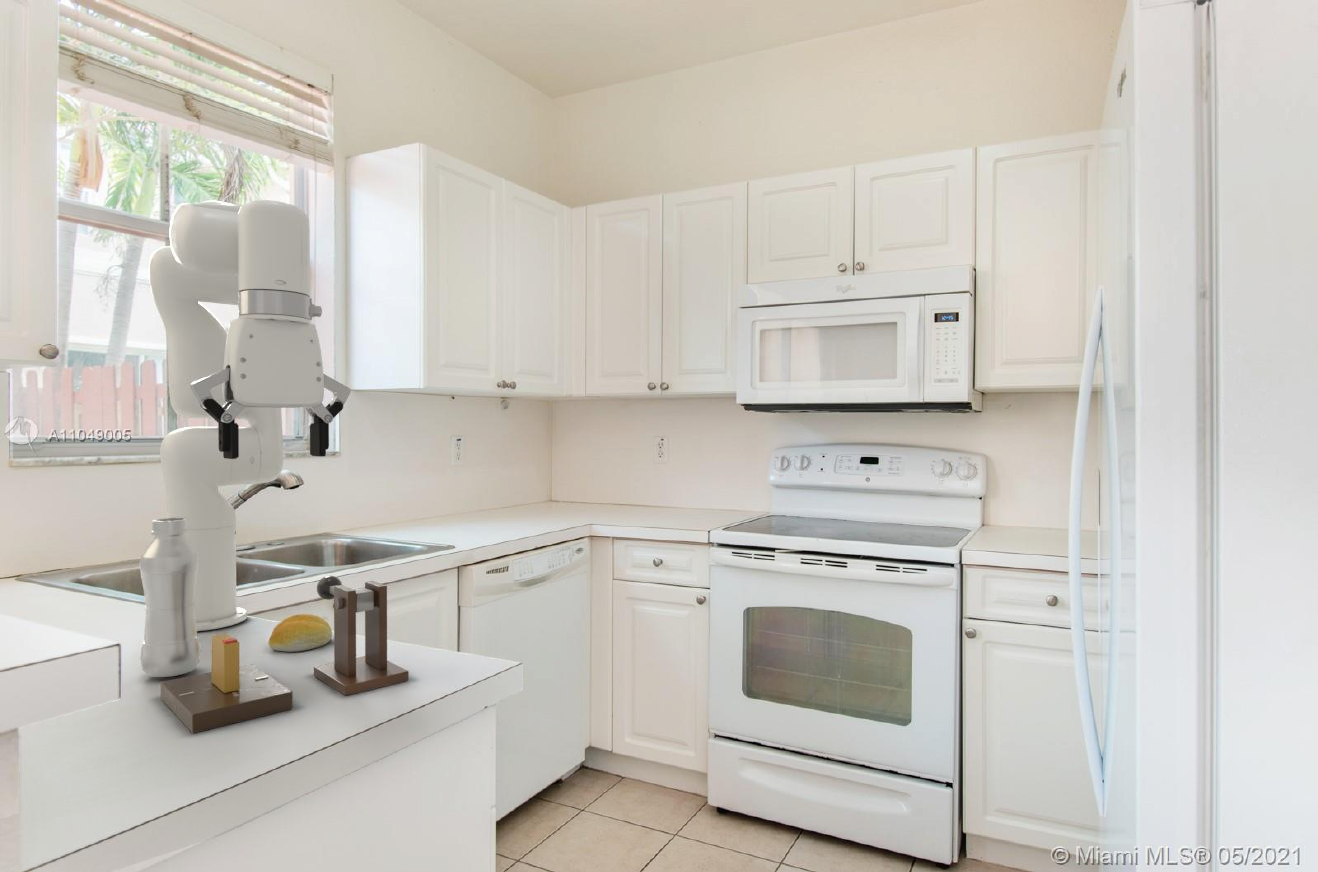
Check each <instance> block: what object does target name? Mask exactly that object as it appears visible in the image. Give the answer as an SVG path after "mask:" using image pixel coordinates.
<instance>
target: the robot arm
mask: <svg viewBox="0 0 1318 872" xmlns="http://www.w3.org/2000/svg"><path fill="white" fill-rule="evenodd" d="M310 237H311V236H310V220H309V216H308V214H307V213H306V212H305V210H303V209H302V208H301V207H299V206H297V205H295V204H292V203H288V202H284V201H280V200H279V201H278V200H268V199H258V200H251V201H247V202H245V203H243V204H238V203H234V202H233V203H232V202H226V201H220V200H204V201H199V202H196V203H189V202H188V203H187V202H186V203H185V202H183V203H180V204H179V205H178V206H177V207H176V208H175V210H174V212H173V214H172V217H171V220H170V225H169V242H170V245H169V246H168V245H166V246H161V247H160V248H158V249H155V250H154V251H153V252H152V254H151V255H150V257H149V258H150V259H149V262H148V279H149V280H148V281H149V285H150V286H149V287H150V291H151V295H152V299H153V301H154V304H155V306H156V308H157V311H158V313H159V316H160V318H161V321H162V323H163V327H164V329H165V333H166V341H167V371H168V372H167V374H168V375H167V377H168V392H169V401H170V405H171V408H172V410H173V412H174V413H175V414H176V415H178V416H180V417H183V418H188V419H200V420H214V422H215V423H217V424H218V426H188V427H183V428H182V427H181V428H179V429H178V428H177V429H174V430H173V431H171V432H169V433H168V434H167V435H165V436H164V437H163V439H162V441H161V443H160V447H159V457H160V459H159V460H160V464H161V470H162V476H163V481H164V486H165V497H166V515H167V516H166V518H186V529H187V533H185V534H184V535H185V538H186V539H187V541H188V542H189V543H190V544H191V545H192V546H193V548H194V549H195V550H196V552H197V555H198V557H199V565H198V572H197V579H196V586H195V599H194V602H195V607H194V610H195V619H196V628H197V632H202V631H203V632H204V631H210V630H217V629H221V628H226V627H230V626H231V627H232V626H234V625H237V624H240V623H242V622H244V621H245V620H247V618H248V610H247V609H245V608H244V607H239V606H237V515H236V511H235V508H234V506H233V505H232V504H231V502H230V501H229V500H228V499H227V498H226V497H225V496H224V495H223V494H221V493H220V491H219V489H218V488H219V487H224V486H235V485H237V486H238V485H254V484H255V485H256V484H257V485H258V484H267V483H271V482H274V481H275V480H277V479H278V478H279V477H280V475H281V474H282V471H283V468H284V467H283V466H284V439H283V438H284V436H283V419H282V416H283V415H282V409H283V408H284V409H296V408H297V409H299V408H303V409H304V410H305V411H306V413H307V414H308V415H309V416H310V418H311V419H312V420H313V422H312V423H310V424H309V455H310V456H312V457H326V456H327V450H329V447H330V424H331V423H332V422H333V421H334V419H335V417H337V415H339V413H341V412H342V410H343V409H344V405H345V404H346V402H347V401H348V399H349V396H350V395H351V391H352V390H351V388H350V387H348V386H347V385H344V384H343V383H341V382H339V381H338V380H335V379H334V378H332V377H330V376H328V375H327V374H325V373H324V365H323V356H322V350H321V344H320V339H319V334H318V331H317V327H316V326H317V325H316V324H312V323H311V321H312V320H313V318H320V317H321V316H322V313H323V309H322V306H320V305H316V304H313V298H311V269H310V268H311V261H310V260H311V259H310V258H311V257H310V256H311V253H310V252H311V251H310V247H311V246H310V245H311V244H310V241H311V240H310ZM202 303H211V304H221V305H230V306H231V305H232V306H238V318H235V319H231V320H230V321H229V325H228V328H227V330H226V329H225V327H224V326H223V324H222V323H221V321H220V320H219V319H218V317H216V316H215V314H213V312H212V311H211V310H210V309H208V308H207V307H206V306H205V305H204V304H202ZM325 389H326V390H328V391H330V392H331V393H332V394H333V396H332V399H331V401H330V402H329V403H328V404H326V406H325V405H324V404H323V401H324V397H325ZM235 420H244V421H246V422H247V423H248V425H249V426H239V424H238V423H237V422H235Z"/></svg>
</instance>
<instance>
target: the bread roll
mask: <svg viewBox="0 0 1318 872" xmlns="http://www.w3.org/2000/svg"><path fill="white" fill-rule="evenodd" d="M332 637H333V631H332V627H331V626H330V624H329V623H328V621H326V620H325V619H324V618H322V617H320V616H318V615H314V614H310V613H309V614H308V613H301V614H300V613H299V614H293V615H290V616H288V617H286V618H285V619H283V620H281V621H280V622H279V623H278V624H276V626H274V628H273V629H272V632H271V634H270V637H269V640H268V645H269V647H270V648H271V649H272V650H274V651H278V652H286V653H287V652H288V653H293V652H295V653H296V652H304V651H309V650H312V649H317V648H319V647H322V646H324V645H325V646H326V644H328V643H329V642H330V641H331V639H332Z"/></svg>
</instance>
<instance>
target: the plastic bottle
mask: <svg viewBox="0 0 1318 872" xmlns="http://www.w3.org/2000/svg"><path fill="white" fill-rule="evenodd" d="M185 533H187V529H186V518H167V517H166V518H164V517H163V518H157V519H153V520H152V530H151V536H153V540H152V541H151V542H150V544H149V545H148V546H147V547H146V549H145V550H144V551H143V553H142V555H141V557H140V558H139V563H138V564H139V571H140V578H141V583H142V588H143V596H144V604H145V607H144V608H145V609H144V610H145V621H144V632H143V633H144V634H143V635H144V636H143V641H142V646H141V650H140V651H141V652H140V664H141V668H142V670H143V672H144V673H145V674H146V675H147V676H148V677H151V678H165V677H166V678H171V677H172V678H173V677H175V676H179V675H184V674H188V673H190V672H193V671H194V670H195V669H196V668H197V666H198V665H199V663H200V661H201V660H200V659H201V654H202V648H201V642H200V637H199V635H198V631H197V628H196V619H195V610H194V607H195V602H194V599H195V586H196V579H197V572H198V565H199V557H198V555H197V552H196V550H195V549H194V548H193V546H192V545H191V544H190V543H189V542H188V541H187V539H186V538H185V535H184V534H185Z"/></svg>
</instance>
